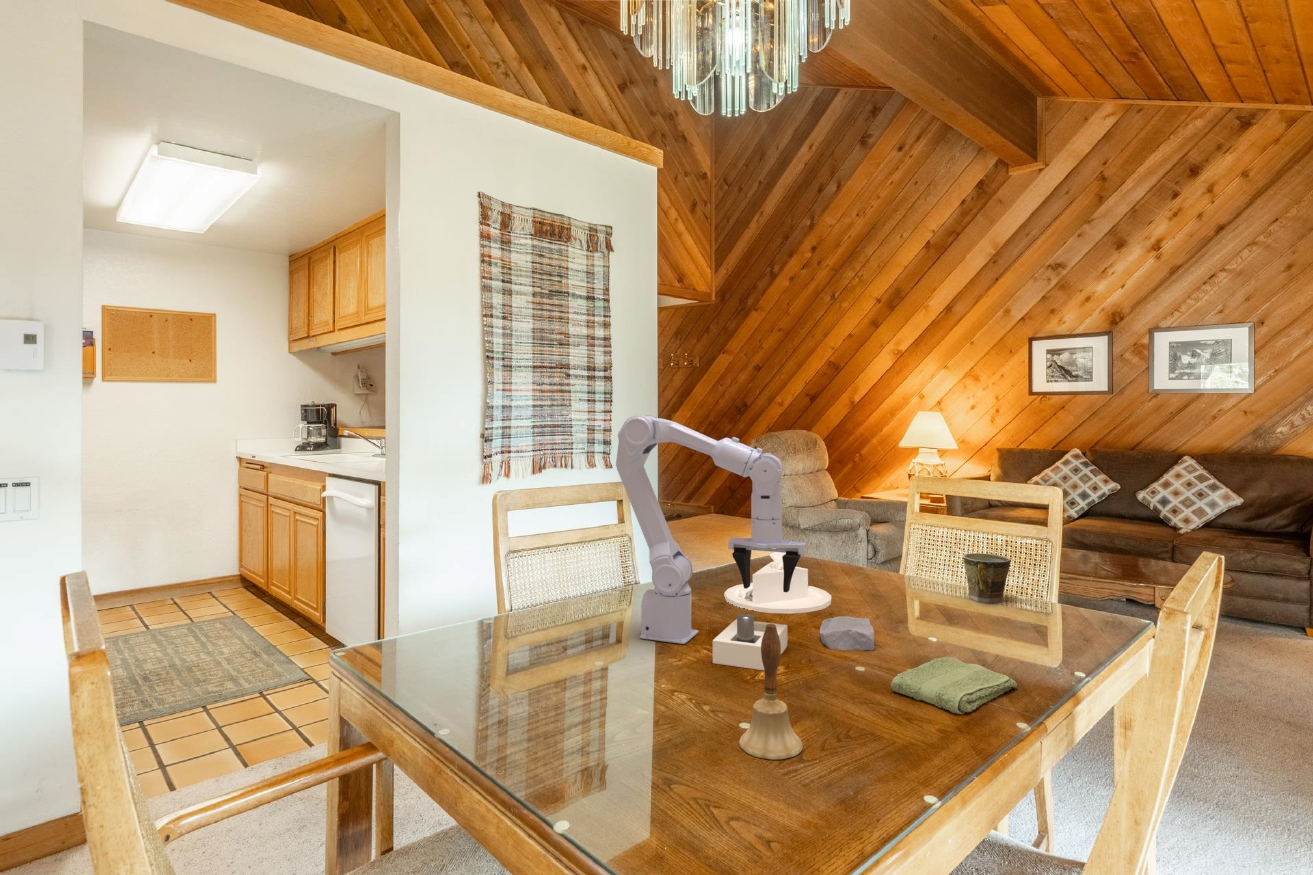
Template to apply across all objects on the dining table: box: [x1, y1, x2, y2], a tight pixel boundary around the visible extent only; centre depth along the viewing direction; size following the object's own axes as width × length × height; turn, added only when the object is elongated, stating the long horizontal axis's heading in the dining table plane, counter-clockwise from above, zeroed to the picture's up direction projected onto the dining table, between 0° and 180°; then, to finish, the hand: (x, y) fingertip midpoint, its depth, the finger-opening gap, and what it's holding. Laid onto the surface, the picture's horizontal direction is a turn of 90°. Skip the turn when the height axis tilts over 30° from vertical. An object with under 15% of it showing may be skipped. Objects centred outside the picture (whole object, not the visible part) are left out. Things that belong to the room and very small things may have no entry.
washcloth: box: [890, 656, 1018, 715], centre depth 111 cm, size 13×18×3 cm
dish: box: [723, 552, 832, 614], centre depth 166 cm, size 25×25×11 cm
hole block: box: [712, 618, 788, 672], centre depth 128 cm, size 10×14×4 cm
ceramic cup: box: [962, 552, 1011, 604], centre depth 163 cm, size 13×10×10 cm
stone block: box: [819, 615, 875, 652], centre depth 136 cm, size 12×5×10 cm
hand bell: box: [738, 623, 804, 761], centre depth 92 cm, size 8×8×16 cm
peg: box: [736, 613, 755, 643], centre depth 124 cm, size 3×3×8 cm
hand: (766, 589), depth 133 cm, fingers open, 7 cm apart
